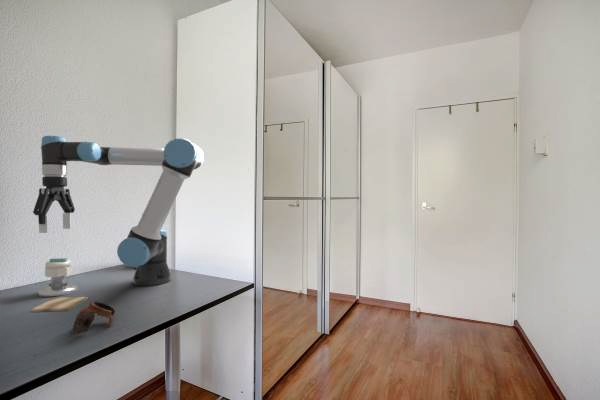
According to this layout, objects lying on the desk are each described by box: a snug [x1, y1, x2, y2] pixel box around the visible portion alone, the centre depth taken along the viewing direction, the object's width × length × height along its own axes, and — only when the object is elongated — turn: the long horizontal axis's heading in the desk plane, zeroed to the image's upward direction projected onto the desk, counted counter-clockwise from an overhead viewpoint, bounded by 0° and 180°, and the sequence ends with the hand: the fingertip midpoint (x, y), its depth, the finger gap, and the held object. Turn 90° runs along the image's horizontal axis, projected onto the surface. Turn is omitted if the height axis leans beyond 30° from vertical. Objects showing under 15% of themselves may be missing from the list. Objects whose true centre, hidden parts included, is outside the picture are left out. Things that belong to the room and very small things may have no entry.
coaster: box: [31, 296, 88, 313], centre depth 105 cm, size 11×11×1 cm
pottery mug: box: [72, 301, 117, 334], centre depth 87 cm, size 12×10×8 cm
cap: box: [44, 257, 73, 278], centre depth 118 cm, size 8×8×6 cm
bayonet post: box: [38, 275, 79, 298], centre depth 118 cm, size 12×12×10 cm
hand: (56, 230), depth 118 cm, fingers open, 13 cm apart
